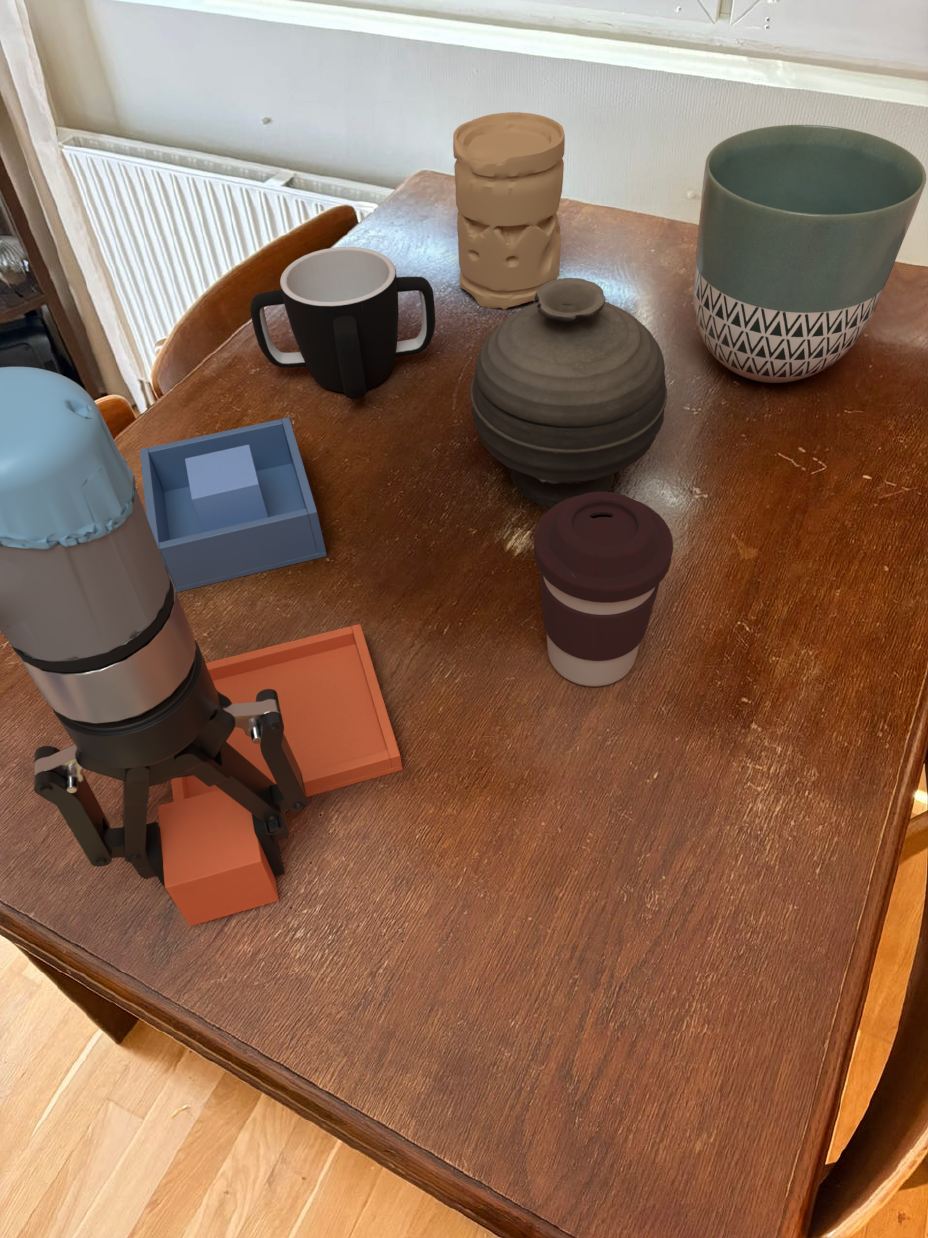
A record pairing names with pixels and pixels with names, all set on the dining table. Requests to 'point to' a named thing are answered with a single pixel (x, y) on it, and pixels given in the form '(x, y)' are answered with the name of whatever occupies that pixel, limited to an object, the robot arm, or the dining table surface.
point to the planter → (798, 244)
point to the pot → (568, 392)
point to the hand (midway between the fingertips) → (228, 871)
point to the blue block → (225, 488)
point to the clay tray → (312, 710)
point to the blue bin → (243, 545)
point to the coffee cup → (599, 582)
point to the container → (508, 205)
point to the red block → (213, 858)
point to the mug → (344, 317)
